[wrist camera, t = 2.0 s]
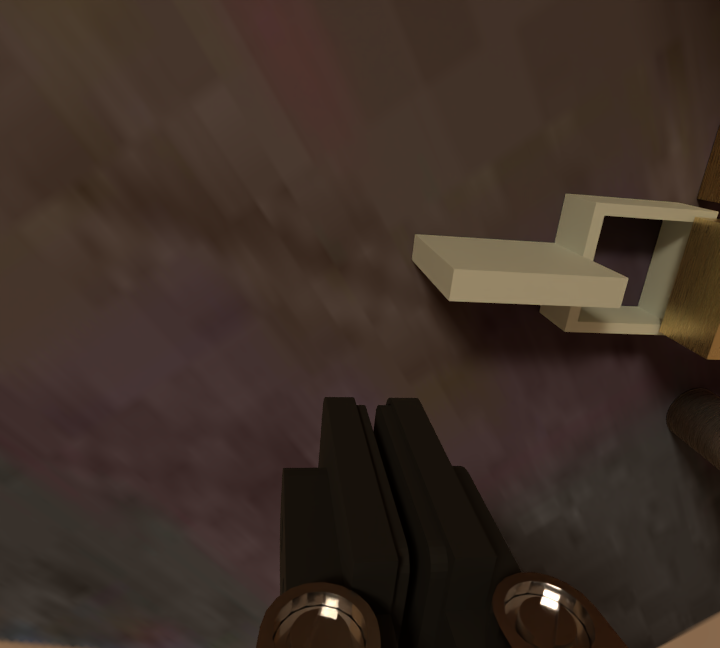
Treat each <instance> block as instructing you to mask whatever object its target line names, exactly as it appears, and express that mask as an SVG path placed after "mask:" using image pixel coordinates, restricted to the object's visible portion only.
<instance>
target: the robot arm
mask: <svg viewBox="0 0 720 648" xmlns="http://www.w3.org/2000/svg"><path fill="white" fill-rule="evenodd" d="M256 648H628V647H627V646H626V645H625V643H624V642H623V641H622V640H621V638H620V637H619V636H618V635H617V633H616V632H615V631H614V630H613V628H612V627H611V626H610V625H609V623H608V622H607V621H606V620H605V618H604V617H603V616H602V615H601V613H600V612H599V611H598V610H597V608H596V607H595V606H594V605H593V604H592V603H591V602H590V601H589V600H588V599H587V598H586V597H585V596H584V595H583V594H582V593H581V592H579V591H578V590H576V589H575V588H573V587H572V586H570V585H569V584H567V583H566V582H563V581H561V580H559V579H556V578H554V577H552V576H549V575H544V574H539V573H534V572H528V573H521V571H520V569H519V567H518V565H517V563H516V561H515V559H514V558H513V556H512V554H511V552H510V550H509V548H508V546H507V544H506V543H505V541H504V539H503V537H502V535H501V533H500V531H499V529H498V527H497V526H496V524H495V522H494V520H493V518H492V516H491V514H490V512H489V510H488V509H487V507H486V505H485V503H484V501H483V499H482V497H481V495H480V493H479V492H478V490H477V488H476V486H475V484H474V482H473V480H472V478H471V477H470V475H469V473H468V472H467V470H466V469H465V468H464V467H462V466H452V465H451V463H450V461H449V459H448V457H447V455H446V453H445V451H444V449H443V447H442V445H441V443H440V441H439V439H438V437H437V435H436V433H435V431H434V429H433V427H432V425H431V423H430V421H429V419H428V417H427V415H426V413H425V411H424V409H423V407H422V404H421V402H420V401H419V399H418V398H389V399H388V400H387V403H386V405H378V406H377V409H376V416H375V424H374V432H373V429H372V426H371V423H370V419H369V416H368V413H367V409H366V406H365V405H356V402H355V399H354V398H353V397H325V398H324V402H323V413H322V426H321V439H320V452H319V466H318V468H283V474H282V493H281V518H280V596H279V597H277V598H276V599H275V601H274V602H273V603H272V604H271V606H270V607H269V608H268V609H267V610H266V612H265V615H264V618H263V620H262V623H261V626H260V630H259V635H258V640H257V646H256Z"/></svg>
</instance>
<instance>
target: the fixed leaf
mask: <svg viewBox="0 0 720 648" xmlns="http://www.w3.org/2000/svg"><path fill="white" fill-rule="evenodd" d="M697 199H702V200H707V201H711V202H716V203H720V126H719V130H718V133H717V136H716V139H715V142H714V146H713V149H712V152H711V155H710V159H709V162H708V165H707V168H706V171H705V175H704V178H703V181H702V184H701V187H700V191H699V194H698V197H697ZM659 332H660V333H662V334H664V335H665V336H667V337H669V338H671V339H672V340H674V341H676V342H678V343H679V344H681V345H683V346H684V347H686V348H688V349H690V350H691V351H693V352H695V353H697V354H698V355H700V356H702V357H704V358H705V359H710V360H720V219H716V218H703V217H695V219H694V222H693V225H692V228H691V231H690V235H689V238H688V241H687V244H686V247H685V251H684V254H683V257H682V260H681V263H680V266H679V270H678V273H677V276H676V279H675V282H674V286H673V289H672V292H671V295H670V298H669V302H668V305H667V308H666V311H665V314H664V318H663V321H662V324H661V327H660V330H659Z"/></svg>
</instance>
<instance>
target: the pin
mask: <svg viewBox="0 0 720 648" xmlns="http://www.w3.org/2000/svg"><path fill="white" fill-rule="evenodd" d="M666 422H667V426H668V428H669V429H670V430H671V431H672V432H673V433H674V434H675V435H677V436H678V437H679V438H680V439H682V440H683V441H684V442H685V443H687V444H688V445H689V446H690V447H691V448H693V449H694V450H695V451H696V452H698V453H699V454H700V455H701V456H703V457H704V458H705V459H706V460H707V461H709V462H710V463H711V464H712V465H714V466H715V467H716V468H717V469H719V470H720V397H719V396H717V395H716V394H714V393H713V392H711V391H709V390H707V389H704V388H696V389H691V390H689V391H686V392H684V393H683V394H681V395H680V396H679V397H677V398H676V399H675V401H674V402H673V403H672V404H671V406H670V408H669V410H668V412H667V417H666Z"/></svg>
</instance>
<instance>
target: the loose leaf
mask: <svg viewBox="0 0 720 648" xmlns="http://www.w3.org/2000/svg"><path fill="white" fill-rule="evenodd" d="M718 213H719V212H717V211H713V210H708V209H704V208H700V207H695V206H691V205H687V204H682V203H677V202H665V201H652V200H640V199H627V198H615V197H602V196H590V195H577V194H566V195H565V199H564V204H563V208H562V213H561V217H560V222H559V226H558V230H557V235H556V239H555V243H546V242H530V241H514V240H498V239H483V238H467V237H451V236H435V235H419V234H415V239H414V247H413V255H412V261H413V262H414V263H415V264H416V265H417V266H418V267H419V268H420V270H421V271H422V272H423V273H424V274H425V275H426V276H427V277H428V278H429V279H430V281H431V282H432V283H433V284H434V285H435V286H436V287H437V288H438V289H439V291H440V292H441V293H442V294H443V295H444V296H445V297H446V298H447V299H448V300H449V301H460V302H484V303H508V304H531V305H541V306H540V311H539V313H541V314H542V315H543V316H545V317H546V318H547V319H549V320H550V321H551V322H552V323H554V324H555V325H556V326H558V327H559V328H560V329H562V330H563V331H564V332H585V333H615V334H646V335H664V334H662V333H660V332H659V330H660V327H661V324H662V321H663V318H664V314H665V311H666V308H667V305H668V302H669V298H670V295H671V292H672V289H673V286H674V282H675V279H676V276H677V273H678V270H679V266H680V263H681V260H682V257H683V254H684V251H685V247H686V244H687V241H688V238H689V235H690V231H691V228H692V225H693V222H694V219H695V217H703V218H716V219H717V216H718ZM604 216H617V217H631V218H644V219H658V220H663V222H662V226H661V229H660V232H659V236H658V239H657V243H656V246H655V249H654V253H653V256H652V260H651V263H650V267H649V270H648V273H647V277H646V280H645V284H644V287H643V291H642V294H641V297H640V301H639V304H638V307H634V306H621V303H622V300H623V296H624V293H625V289H626V285H627V282H628V278H627V277H625V276H623V275H621V274H619V273H617V272H614V271H612V270H610V269H608V268H606V267H604V266H602V265H600V264H598V263H596V262H593V259H594V255H595V251H596V247H597V243H598V239H599V235H600V231H601V227H602V223H603V219H604Z"/></svg>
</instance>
